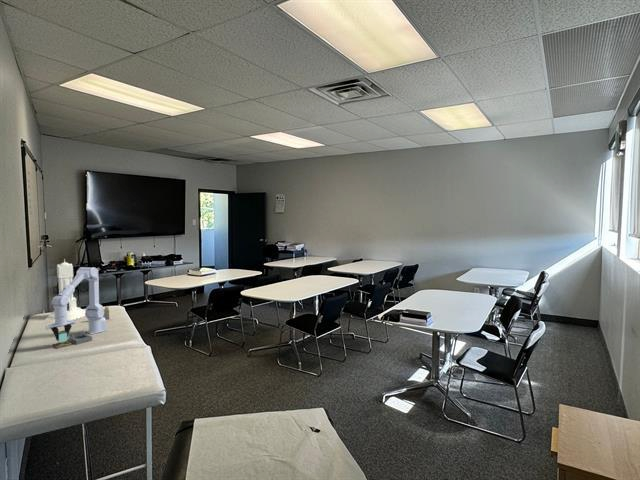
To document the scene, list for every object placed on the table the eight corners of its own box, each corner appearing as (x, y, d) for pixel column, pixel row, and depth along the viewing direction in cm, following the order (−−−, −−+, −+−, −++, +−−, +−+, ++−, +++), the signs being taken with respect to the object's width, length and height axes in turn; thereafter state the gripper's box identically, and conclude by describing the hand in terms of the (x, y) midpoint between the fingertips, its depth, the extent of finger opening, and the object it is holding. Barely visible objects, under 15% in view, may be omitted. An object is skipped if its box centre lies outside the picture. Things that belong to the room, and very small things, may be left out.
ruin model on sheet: (109, 319, 269) (108, 306, 268) (109, 320, 266) (108, 307, 266) (91, 321, 262) (90, 308, 262) (91, 322, 260) (90, 309, 259)
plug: (64, 339, 216) (64, 330, 215) (67, 340, 213) (66, 331, 213) (56, 341, 212) (56, 332, 212) (59, 342, 210) (58, 333, 210)
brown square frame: (67, 342, 218) (67, 340, 218) (71, 345, 214) (71, 343, 214) (52, 345, 212) (52, 344, 212) (57, 348, 208) (56, 347, 208)
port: (83, 336, 229) (83, 330, 229) (92, 340, 221) (91, 334, 221) (68, 339, 222) (68, 333, 222) (76, 344, 215) (76, 338, 214)
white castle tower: (93, 316, 274) (90, 258, 271) (47, 324, 254) (43, 261, 251) (84, 309, 294) (82, 255, 291) (41, 316, 274) (38, 257, 271)
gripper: (72, 312, 220) (73, 333, 221) (43, 317, 208) (44, 340, 209) (76, 314, 216) (77, 336, 217) (47, 319, 204) (48, 343, 205)
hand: (61, 338), depth 213 cm, fingers closed on plug, 4 cm apart
